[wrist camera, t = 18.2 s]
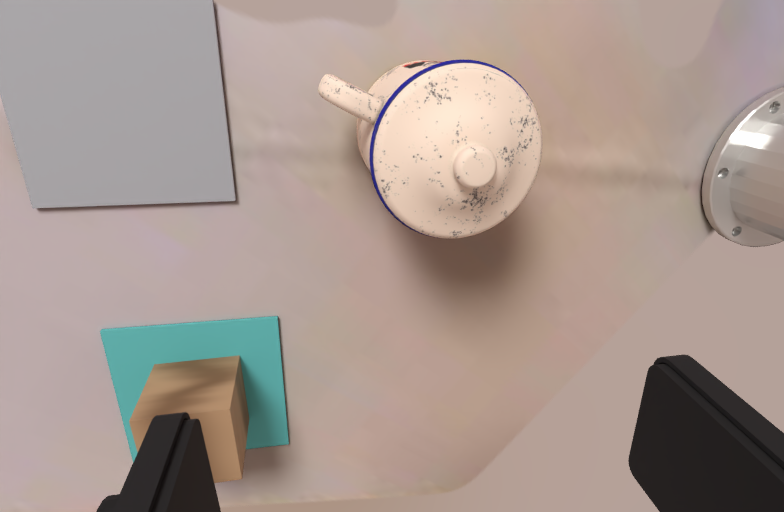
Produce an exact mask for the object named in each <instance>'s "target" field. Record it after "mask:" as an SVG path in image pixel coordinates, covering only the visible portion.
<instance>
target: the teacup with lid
mask: <svg viewBox="0 0 784 512" xmlns="http://www.w3.org/2000/svg"><path fill="white" fill-rule="evenodd" d="M318 92H319V94H320V96H321V97H322V98H324V99H325V100H327V101H328V102H330V103H332V104H333V105H335V106H337V107H339V108H341V109H343V110H344V111H346V112H348V113H350V114H352V115H354V116H356V117H358V120H357V142H358V147H359V150H360V153H361V156H362V158H363V160H364V162H365V164H366V166H367V168H368V169H369V171H370V173H371V175H372V180H373V183H374V186H375V189H376V191H377V193H378V195H379V197H380V199H381V201H382V202H383V204H384V205H385V207H386V208H387V209H388V211H389V212H390V213H391V214H392V215H393V216H394V217H395V218H396V219H397V220H398V221H400V222H401V223H402V224H403V225H405V226H407V227H408V228H410V229H412V230H414V231H416V232H418V233H421V234H424V235H427V236H431V237H437V238H448V239H452V238H463V237H468V236H473V235H476V234H479V233H482V232H484V231H486V230H488V229H490V228H492V227H494V226H496V225H497V224H499V223H500V222H502V221H503V220H504V219H506V218H507V217H508V216H509V215H510V214H511V213H512V212H514V210H515V209H516V208H517V207H518V206H519V205H520V204H521V202H522V201H523V200H524V199H525V197H526V195H527V194H528V192H529V191H530V189H531V187H532V185H533V183H534V181H535V178H536V176H537V173H538V170H539V166H540V162H541V155H542V131H541V125H540V121H539V117H538V114H537V111H536V109H535V107H534V105H533V103H532V101H531V99H530V97H529V96H528V94H527V93H526V91H525V90H524V89H523V87H522V86H521V85H520V84H519V83H518V82H517V81H516V80H515V79H514V78H513V77H511V76H510V75H509V74H507V73H506V72H504V71H503V70H501V69H499V68H497V67H495V66H493V65H490V64H487V63H484V62H480V61H474V60H451V61H446V62H437V61H426V60H421V61H412V62H408V63H404V64H402V65H399V66H397V67H395V68H393V69H391V70H390V71H388V72H387V73H385V74H384V75H383V76H381V77H380V78H379V79H378V80H377V81H376V82H375V83H374V84H373V86H372V87H371V88H370V90H369V91H368V92H366V91H364V90H362V89H360V88H358V87H356V86H354V85H352V84H350V83H348V82H346V81H344V80H342V79H340V78H338V77H336V76H334V75H331V74H327V75H325V76H324V77H323V78H322V80H321V82H320V84H319V87H318Z"/></svg>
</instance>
